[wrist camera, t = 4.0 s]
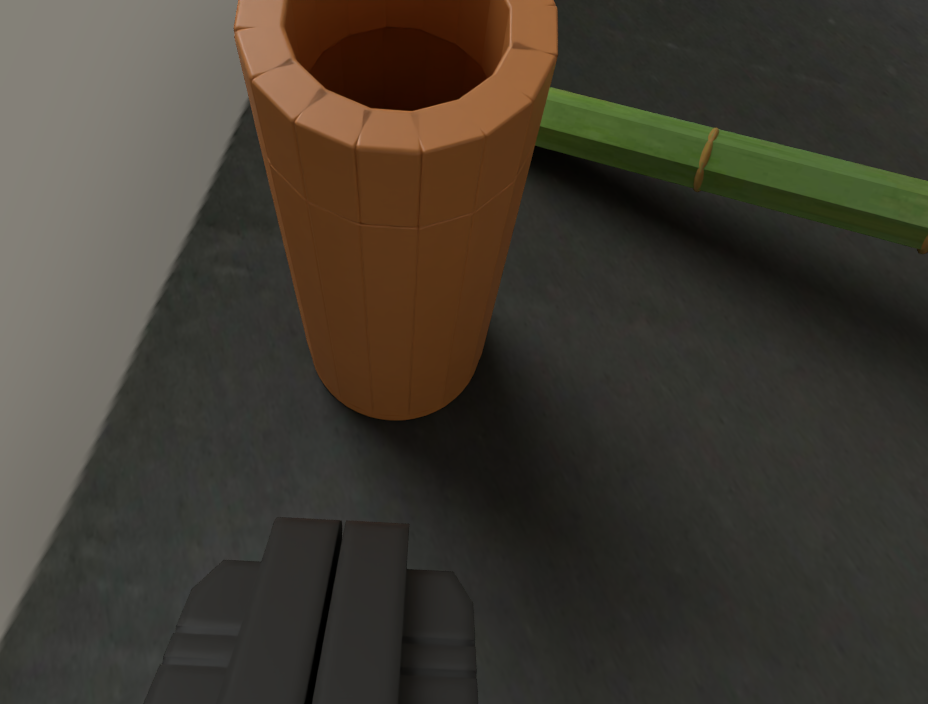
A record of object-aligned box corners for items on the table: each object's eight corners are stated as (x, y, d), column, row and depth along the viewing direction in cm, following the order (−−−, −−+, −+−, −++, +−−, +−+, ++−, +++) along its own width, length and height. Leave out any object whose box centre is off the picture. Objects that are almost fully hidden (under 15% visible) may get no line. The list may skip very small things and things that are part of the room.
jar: (437, 449, 28) (480, 203, 14) (279, 376, 28) (171, 70, 15) (507, 305, 30) (603, -32, 16) (358, 240, 31) (330, -140, 17)
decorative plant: (555, 8, 32) (1560, 231, 24) (547, 173, 39) (1329, 390, 31) (490, 108, 29) (1619, 402, 21) (494, 268, 36) (1348, 538, 28)
